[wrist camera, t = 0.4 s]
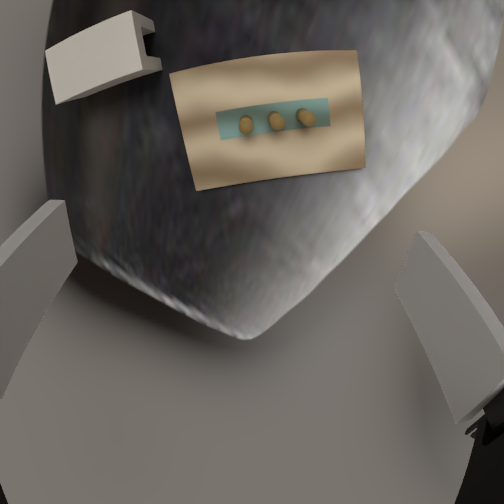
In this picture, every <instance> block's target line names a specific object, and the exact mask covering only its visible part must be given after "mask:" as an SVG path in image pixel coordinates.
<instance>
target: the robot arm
mask: <svg viewBox="0 0 504 504" xmlns="http://www.w3.org/2000/svg"><path fill="white" fill-rule="evenodd" d="M76 264H77V258H76V253H75V249H74V245H73V240H72V236H71V231H70V226H69V221H68V216H67V210H66V204H65V200H49V201H47V202H46V203H45V204H44V205H43V206H42V207H41V208H39V209H38V210H37V211H36V212H35V213H34V214H33V215H32V216H31V217H30V218H29V219H28V220H27V221H25V222H24V223H23V224H22V225H21V226H20V227H19V228H18V229H17V230H16V231H15V232H14V233H13V234H12V235H11V236H10V237H9V238H8V239H7V240H6V242H4V243H3V244H2V245H1V246H0V399H2V398H3V396H4V393H5V391H6V389H7V386H8V384H9V382H10V380H11V377H12V375H13V373H14V371H15V369H16V367H17V365H18V363H19V361H20V359H21V357H22V355H23V353H24V351H25V349H26V347H27V345H28V343H29V341H30V339H31V337H32V335H33V334H34V332H35V330H36V328H37V327H38V325H39V323H40V321H41V319H42V318H43V316H44V314H45V313H46V311H47V309H48V308H49V306H50V304H51V302H52V301H53V299H54V298H55V296H56V294H57V293H58V291H59V289H60V288H61V286H62V285H63V283H64V282H65V280H66V279H67V277H68V275H69V274H70V272H71V271H72V270H73V268H74V267H75V265H76ZM393 288H394V290H395V292H396V293H397V295H398V297H399V299H400V301H401V303H402V305H403V307H404V309H405V311H406V313H407V314H408V317H409V318H410V321H411V322H412V324H413V327H414V328H415V330H416V333H417V334H418V337H419V339H420V341H421V343H422V345H423V347H424V349H425V352H426V354H427V356H428V358H429V360H430V363H431V365H432V367H433V369H434V372H435V374H436V376H437V379H438V381H439V383H440V386H441V388H442V391H443V393H444V396H445V398H446V401H447V403H448V406H449V408H450V411H451V414H452V416H453V419H454V422H455V424H457V423H461V422H463V421H466V420H469V419H471V418H472V417H474V416H475V415H476V414H477V413H478V412H479V411H480V410H482V409H484V412H485V414H484V415H483V416H482V417H481V418H480V419H479V420H477V421H476V422H475V423H474V424H472V425H471V426H470V427H469V428H468V429H467V430H466V432H465V434H466V435H468V434H469V433H470V432H471V431H473V430H474V429H475V428H477V430H476V431H475V432H473V433H472V434H471V437H472V438H474V439H475V441H474V446H473V449H472V453H471V456H470V460H469V463H468V467H467V470H466V473H465V476H464V479H463V482H462V485H461V488H460V490H459V493H458V496H457V498H456V501H455V504H504V327H503V326H502V324H501V322H500V320H499V319H498V318H497V316H496V315H495V313H494V312H493V311H492V309H491V308H490V306H489V305H488V303H487V302H486V301H485V300H484V298H483V297H482V295H481V294H480V292H479V291H478V290H477V288H476V287H475V286H474V284H473V283H472V282H471V280H470V279H469V278H468V276H467V275H466V274H465V273H464V271H463V270H462V269H461V268H460V267H459V265H458V264H457V263H456V261H455V260H454V259H453V258H452V257H451V255H450V254H449V253H448V252H447V251H446V249H445V248H444V247H443V246H442V245H441V244H440V242H439V241H438V240H437V239H436V238H435V237H434V236H433V235H432V233H428V232H422V231H416V234H415V236H414V239H413V241H412V244H411V246H410V249H409V251H408V254H407V256H406V259H405V261H404V263H403V265H402V268H401V270H400V272H399V274H398V277H397V279H396V281H395V283H394V285H393ZM0 504H8V502H7V500H6V497H5V495H4V493H3V490H2V487H1V484H0Z"/></svg>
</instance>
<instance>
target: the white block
mask: <svg viewBox="0 0 504 504" xmlns="http://www.w3.org/2000/svg"><path fill="white" fill-rule="evenodd" d="M153 32H155V29H154V23H153V20H151V19H149V18H147V17H145V16H143V15H141V14H139V13H136V12H134V11H132V10H130V11H127V12H125V13H122V14H120V15H117V16H115V17H112V18H110V19H107V20H105V21H103V22H100V23H98V24H96V25H94V26H92V27H89V28H87V29H85V30H83V31H81V32H79V33H77V34H75V35H73V36H71V37H69V38H67V39H65V40H64V41H62V42H60V43H58V44H56V45H54V46H53V47H51V48H49V49H47V50H46V51H45V53H46V59H47V65H48V70H49V75H50V80H51V85H52V89H53V94H54V98H55V102H56V104H60V103H63V102H67V101H71V100H75V99H78V98H82V97H87V96H89V95H92V94H94V93H96V92H99V91H101V90H104V89H107V88H109V87H112V86H115V85H117V84H120V83H123V82H126V81H129V80H132V79H135V78H138V77H141V76H144V75H147V74H150V73H154V72H157V71H160V70H163V69H162V64H161V59H160V58H157V57H151V56H146V51H145V46H144V41H143V36H144V35H147V34H150V33H153Z"/></svg>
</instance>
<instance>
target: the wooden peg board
mask: <svg viewBox="0 0 504 504" xmlns="http://www.w3.org/2000/svg"><path fill="white" fill-rule="evenodd" d="M169 76H170V80H171V85H172V90H173V94H174V99H175V103H176V108H177V112H178V117H179V121H180V126H181V130H182V134H183V139H184V143H185V147H186V151H187V155H188V160H189V164H190V168H191V172H192V176H193V180H194V184H195V188H196V191H200V190H205V189H211V188H216V187H222V186H228V185H234V184H240V183H246V182H253V181H259V180H266V179H273V178H280V177H288V176H295V175H303V174H311V173H320V172H329V171H338V170H348V169H359V168H366V165H365V135H364V118H363V104H362V92H361V82H360V72H359V64H358V56H357V50H330V51H306V52H292V53H281V54H271V55H263V56H255V57H248V58H242V59H235V60H230V61H224V62H219V63H214V64H209V65H204V66H199V67H195V68H191V69H187V70H182V71H178V72H175V73H171V74H169Z"/></svg>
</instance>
